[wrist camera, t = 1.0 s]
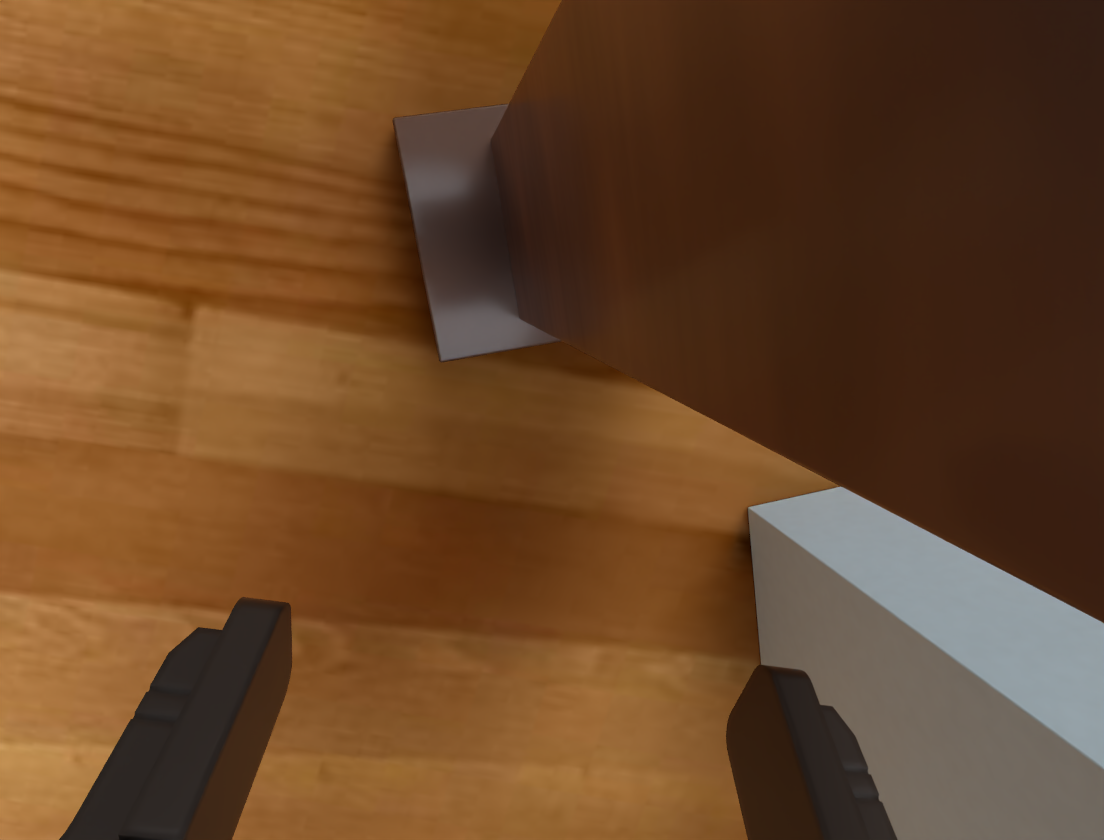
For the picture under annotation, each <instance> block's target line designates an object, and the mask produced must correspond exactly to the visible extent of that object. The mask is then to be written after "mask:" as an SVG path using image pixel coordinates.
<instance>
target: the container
mask: <svg viewBox="0 0 1104 840" xmlns="http://www.w3.org/2000/svg"><path fill="white" fill-rule="evenodd" d="M748 516H749V528H750V539H751V551H752V563H753V575H754V586H755V598H756V610H757V622H758V633H759V645H760V657H761V665H768V666H776V667H784V668H792V669H800V670H803V671H804V672H806V673H807V675H808V676H809V678H810V680H811V682H812V684H813V687H814V690H815V692H816V695H817V698H818V700H819V703H820V705H826V706H833V707H834V709H835V710H836V711H837V713H838V714H839V715H840V717H841V718H842V719H843V720H844V722H845V723H846V724H847V726H848V727H849V728H850V730H851V731H852V732H853V733H854V735H855V736H856V739H857V741H858V744H859V746H860V749H861V751H862V754H863V756H864V758H865V761H866V763H867V766H868V773H869V774H871V776H872V778H873V781H874V783H875V785H876V788H877V790H878V793H879V801H881V802H882V803H883V805H884V808H885V810H886V813H887V815H888V817H889V820H890V822H891V825H892V827H893V830H894V832H895V835H896V837H897V840H1104V623H1103V622H1101V621H1099V620H1097V619H1095V618H1093V617H1091V616H1089V615H1087V614H1085V613H1083V612H1082V611H1080V610H1078V609H1076V608H1074V607H1072V606H1070V605H1068V604H1066V603H1064V602H1062V601H1060V600H1058V599H1057V598H1055V597H1053V596H1051V595H1049V594H1047V593H1045V592H1043V591H1041V590H1039V589H1037V588H1035V587H1033V586H1032V585H1030V584H1028V583H1026V582H1024V581H1022V580H1020V579H1018V578H1016V577H1014V576H1012V575H1010V574H1009V573H1007V572H1005V571H1003V570H1001V569H999V568H997V567H995V566H993V565H991V564H989V563H987V562H985V561H984V560H982V559H980V558H978V557H976V556H974V555H972V554H970V553H968V552H966V551H964V550H962V549H960V548H959V547H957V546H955V545H953V544H951V543H949V542H947V541H945V540H943V539H941V538H939V537H937V536H936V535H934V534H932V533H930V532H928V531H926V530H924V529H922V528H920V527H918V526H916V525H914V524H912V523H911V522H909V521H907V520H905V519H903V518H901V517H899V516H897V515H895V514H893V513H891V512H889V511H887V510H886V509H884V508H882V507H880V506H878V505H876V504H874V503H872V502H870V501H868V500H866V499H864V498H862V497H861V496H859V495H857V494H855V493H853V492H851V491H849V490H847V489H845V488H843V487H837V488H833V489H828V490H824V491H819V492H815V493H810V494H806V495H801V496H797V497H792V498H788V499H783V500H779V501H774V502H770V503H765V504H761V505H756V506H752V507H748Z"/></svg>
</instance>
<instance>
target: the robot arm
mask: <svg viewBox="0 0 1104 840" xmlns="http://www.w3.org/2000/svg"><path fill="white" fill-rule="evenodd" d="M291 668H292V631H291V606H290V604H289V603H286V602H278V601H270V600H262V599H254V598H246V597H242V598H240V599H239V600H238V602H237V603H236V605H235V606H234V608H233V610H232V612H231V614H230V616H229V618H228V620H227V622H226V624H225V626H224V628H223V630H216V629H208V628H200V627H198V628H197V629H196V630H195V631H193V632H192V633H191V634H190V635H189V636H188V637H187V638H185V639H184V640H183V641H182V642H181V643H180V644H179V645H177V646H176V647H175V648H174V649H173V650H172V651H171V652H170V653H168V655H167V657H166V659H165V660H164V662H163V664H162V666H161V667H160V669H159V671H158V673H157V674H156V676H155V678H154V680H153V681H152V683H151V685H150V690H149V691H148V692H146V694H145V695H144V697H143V699H142V701H141V702H140V704H139V706H138V708H137V709H136V711H135V716H134V718H133V719H131V720H130V722H129V723H128V725H127V727H126V729H125V730H124V732H123V734H122V736H121V737H120V739H119V741H118V743H117V744H116V746H115V748H114V750H113V751H112V753H111V755H110V757H109V758H108V760H107V762H106V764H105V765H104V767H103V769H102V771H101V772H100V774H99V776H98V778H97V779H96V781H95V783H94V785H93V786H92V788H91V790H90V792H89V793H88V795H87V797H86V799H85V800H84V802H83V804H82V806H81V807H80V809H79V811H78V813H77V814H76V816H75V818H74V820H73V821H72V823H71V824H70V826H69V827H68V829H67V830H66V832H65V833H64V834H63V836H62V837H61V838H60V839H59V840H232V837H233V835H234V832H235V829H236V827H237V824H238V821H239V819H240V816H241V813H242V811H243V808H244V805H245V803H246V800H247V797H248V795H249V792H250V789H251V787H252V784H253V781H254V778H255V776H256V773H257V770H258V768H259V765H260V762H261V760H262V757H263V754H264V752H265V749H266V746H267V744H268V741H269V738H270V736H271V733H272V730H273V728H274V725H275V722H276V720H277V717H278V714H279V712H280V709H281V706H282V703H283V701H284V698H285V695H286V691H287V688H288V684H289V679H290V674H291ZM726 743H727V750H728V755H729V760H730V764H731V768H732V773H733V777H734V781H735V786H736V790H737V794H738V798H739V803H740V807H741V811H742V816H743V820H744V824H745V829H746V833H747V837H748V840H897V837H896V835H895V832H894V830H893V827H892V825H891V822H890V820H889V817H888V815H887V813H886V810H885V808H884V805H883V803H882V802H881V801H879V793H878V790H877V788H876V785H875V783H874V781H873V778H872V776H871V774H869V773H868V766H867V763H866V761H865V758H864V756H863V754H862V751H861V749H860V746H859V744H858V741H857V739H856V736H855V735H854V733H853V732H852V731H851V730H850V728H849V727H848V726H847V724H846V723H845V722H844V720H843V719H842V718H841V717H840V715H839V714H838V713H837V711H836V710H835V709H834V707H833V706H826V705H820V703H819V700H818V698H817V695H816V692H815V690H814V687H813V684H812V682H811V680H810V678H809V676H808V675H807V673H806V672H804V671H803V670H800V669H792V668H784V667H776V666H768V665H759V666H757V667H756V669H755V670H754V672H753V674H752V675H751V677H750V679H749V681H748V682H747V684H746V686H745V688H744V690H743V691H742V693H741V695H740V697H739V699H738V700H737V702H736V704H735V706H734V708H733V709H732V711H731V713H730V715H729V718H728V723H727V731H726Z"/></svg>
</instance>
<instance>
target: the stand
mask: <svg viewBox="0 0 1104 840" xmlns="http://www.w3.org/2000/svg"><path fill="white" fill-rule="evenodd" d="M393 125H394V130H395V135H396V140H397V146H398V151H399V156H400V161H401V166H402V171H403V176H404V182H405V187H406V192H407V197H408V202H409V207H410V212H411V218H412V223H413V228H414V233H415V238H416V243H417V248H418V254H419V259H420V264H421V269H422V274H423V279H424V284H425V290H426V295H427V300H428V305H429V310H430V315H431V320H432V326H433V331H434V336H435V341H436V346H437V351H438V356H439V361H440V362H447V361H453V360H459V359H464V358H470V357H475V356H481V355H487V354H492V353H498V352H504V351H509V350H515V349H521V348H526V347H532V346H538V345H543V344H549V343H555V342H560V341H563V342H565V343H567V344H569V345H570V346H572V347H574V348H576V349H578V350H580V351H582V352H584V353H586V354H588V355H590V356H592V357H594V358H595V359H597V360H599V361H601V362H603V363H605V364H607V365H609V366H611V367H613V368H615V369H617V370H619V371H620V372H622V373H624V374H626V375H628V376H630V377H632V378H634V379H636V380H638V381H640V382H642V383H643V384H645V385H647V386H649V387H651V388H653V389H655V390H657V391H659V392H661V393H663V394H665V395H667V396H668V397H670V398H672V399H674V400H676V401H678V402H680V403H682V404H684V405H686V406H688V407H690V408H692V409H693V410H695V411H697V412H699V413H701V414H703V415H705V416H707V417H709V418H711V419H713V420H715V421H716V422H718V423H720V424H722V425H724V426H726V427H728V428H730V429H732V430H734V431H736V432H738V433H740V434H741V435H743V436H745V437H747V438H749V439H751V440H753V441H755V442H757V443H759V444H761V445H763V446H765V447H766V448H768V449H770V450H772V451H774V452H776V453H778V454H780V455H782V456H784V457H786V458H788V459H789V460H791V461H793V462H795V463H797V464H799V465H801V466H803V467H805V468H807V469H809V470H811V471H813V472H814V473H816V474H818V475H820V476H822V477H824V478H826V479H828V480H830V481H832V482H834V483H836V484H838V485H839V486H841V487H843V488H845V489H847V490H849V491H851V492H853V493H855V494H857V495H859V496H861V497H862V498H864V499H866V500H868V501H870V502H872V503H874V504H876V505H878V506H880V507H882V508H884V509H886V510H887V511H889V512H891V513H893V514H895V515H897V516H899V517H901V518H903V519H905V520H907V521H909V522H911V523H912V524H914V525H916V526H918V527H920V528H922V529H924V530H926V531H928V532H930V533H932V534H934V535H936V536H937V537H939V538H941V539H943V540H945V541H947V542H949V543H951V544H953V545H955V546H957V547H959V548H960V549H962V550H964V551H966V552H968V553H970V554H972V555H974V556H976V557H978V558H980V559H982V560H984V561H985V562H987V563H989V564H991V565H993V566H995V567H997V568H999V569H1001V570H1003V571H1005V572H1007V573H1009V574H1010V575H1012V576H1014V577H1016V578H1018V579H1020V580H1022V581H1024V582H1026V583H1028V584H1030V585H1032V586H1033V587H1035V588H1037V589H1039V590H1041V591H1043V592H1045V593H1047V594H1049V595H1051V596H1053V597H1055V598H1057V599H1058V600H1060V601H1062V602H1064V603H1066V604H1068V605H1070V606H1072V607H1074V608H1076V609H1078V610H1080V611H1082V612H1083V613H1085V614H1087V615H1089V616H1091V617H1093V618H1095V619H1097V620H1099V621H1101V622H1103V623H1104V0H562V1H561V3H560V5H559V7H558V9H557V11H556V13H555V15H554V17H553V19H552V21H551V23H550V25H549V27H548V29H547V31H546V33H545V35H544V36H543V38H542V40H541V42H540V44H539V46H538V48H537V50H536V52H535V54H534V56H533V58H532V60H531V62H530V64H529V66H528V68H527V70H526V72H525V74H524V76H523V78H522V80H521V81H520V83H519V85H518V87H517V89H516V91H515V93H514V95H513V97H512V99H511V101H510V103H509V104H501V105H493V106H485V107H477V108H469V109H461V110H452V111H444V112H436V113H428V114H420V115H412V116H404V117H396V118H393Z"/></svg>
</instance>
